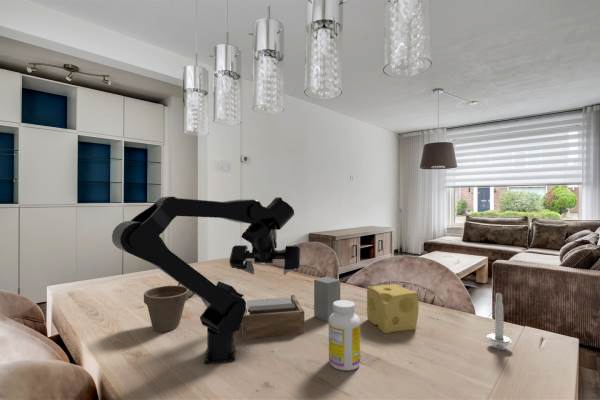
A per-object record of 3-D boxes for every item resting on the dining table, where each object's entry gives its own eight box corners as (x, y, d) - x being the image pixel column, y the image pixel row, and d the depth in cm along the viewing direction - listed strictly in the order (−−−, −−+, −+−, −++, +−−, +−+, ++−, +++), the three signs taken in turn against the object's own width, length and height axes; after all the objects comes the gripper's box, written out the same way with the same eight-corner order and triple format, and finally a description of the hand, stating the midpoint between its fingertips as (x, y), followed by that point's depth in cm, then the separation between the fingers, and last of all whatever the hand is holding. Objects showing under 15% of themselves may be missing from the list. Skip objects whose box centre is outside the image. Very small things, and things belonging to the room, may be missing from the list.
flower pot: (198, 324, 87) (198, 288, 87) (161, 340, 77) (161, 299, 77) (171, 316, 93) (171, 282, 93) (134, 330, 83) (134, 292, 83)
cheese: (384, 334, 80) (384, 296, 80) (365, 319, 91) (365, 285, 91) (419, 330, 83) (419, 292, 83) (396, 315, 93) (396, 282, 93)
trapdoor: (296, 317, 83) (296, 307, 83) (248, 321, 80) (248, 310, 80) (289, 303, 94) (289, 294, 94) (246, 306, 91) (246, 297, 91)
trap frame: (304, 332, 81) (304, 311, 81) (242, 338, 78) (242, 316, 78) (293, 313, 95) (293, 294, 95) (241, 317, 92) (241, 298, 92)
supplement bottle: (356, 355, 69) (356, 298, 69) (363, 371, 63) (363, 308, 63) (326, 355, 69) (326, 298, 69) (330, 372, 63) (330, 309, 63)
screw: (514, 348, 72) (506, 354, 70) (492, 341, 76) (483, 346, 73) (514, 293, 72) (506, 297, 69) (492, 288, 76) (483, 291, 73)
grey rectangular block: (327, 321, 89) (327, 283, 88) (314, 316, 93) (314, 279, 93) (340, 316, 92) (340, 279, 92) (326, 311, 96) (326, 276, 96)
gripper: (299, 216, 84) (302, 250, 95) (232, 216, 85) (242, 250, 96) (298, 250, 76) (300, 283, 87) (223, 249, 77) (235, 282, 88)
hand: (269, 273), depth 90 cm, fingers open, 9 cm apart
